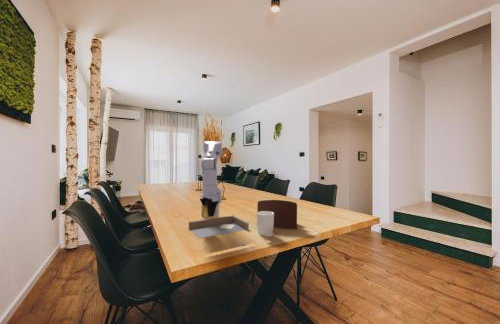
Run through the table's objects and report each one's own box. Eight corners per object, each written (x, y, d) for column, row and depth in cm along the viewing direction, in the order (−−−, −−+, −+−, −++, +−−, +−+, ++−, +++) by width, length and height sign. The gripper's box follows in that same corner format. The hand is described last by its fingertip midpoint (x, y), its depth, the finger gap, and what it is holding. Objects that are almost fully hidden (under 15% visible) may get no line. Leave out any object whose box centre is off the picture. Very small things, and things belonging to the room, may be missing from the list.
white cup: (276, 234, 99) (277, 212, 99) (269, 239, 92) (269, 216, 92) (261, 231, 103) (261, 210, 103) (253, 236, 96) (253, 213, 96)
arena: (188, 230, 103) (188, 221, 103) (233, 222, 116) (233, 215, 116) (199, 240, 90) (199, 231, 90) (248, 231, 102) (248, 223, 102)
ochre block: (201, 216, 98) (201, 205, 98) (212, 215, 100) (212, 204, 100) (205, 219, 94) (205, 207, 94) (216, 217, 96) (216, 206, 96)
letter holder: (297, 229, 106) (297, 201, 106) (257, 227, 109) (257, 199, 109) (296, 223, 115) (296, 197, 115) (259, 221, 119) (259, 196, 119)
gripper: (195, 183, 101) (195, 212, 101) (206, 187, 89) (205, 220, 89) (209, 182, 105) (209, 210, 105) (221, 186, 92) (221, 217, 92)
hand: (208, 214), depth 97 cm, fingers closed on ochre block, 5 cm apart
